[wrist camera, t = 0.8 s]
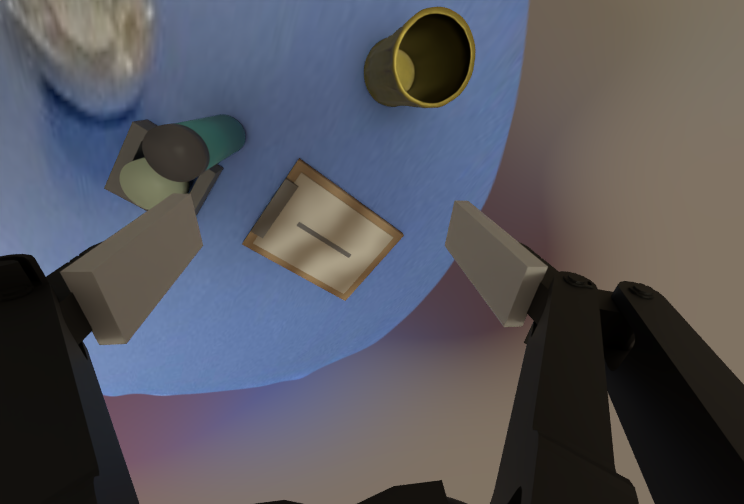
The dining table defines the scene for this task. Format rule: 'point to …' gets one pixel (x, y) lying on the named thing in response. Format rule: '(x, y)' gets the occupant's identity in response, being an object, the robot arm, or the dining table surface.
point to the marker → (192, 146)
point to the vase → (422, 61)
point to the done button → (148, 184)
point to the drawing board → (321, 232)
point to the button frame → (134, 152)
